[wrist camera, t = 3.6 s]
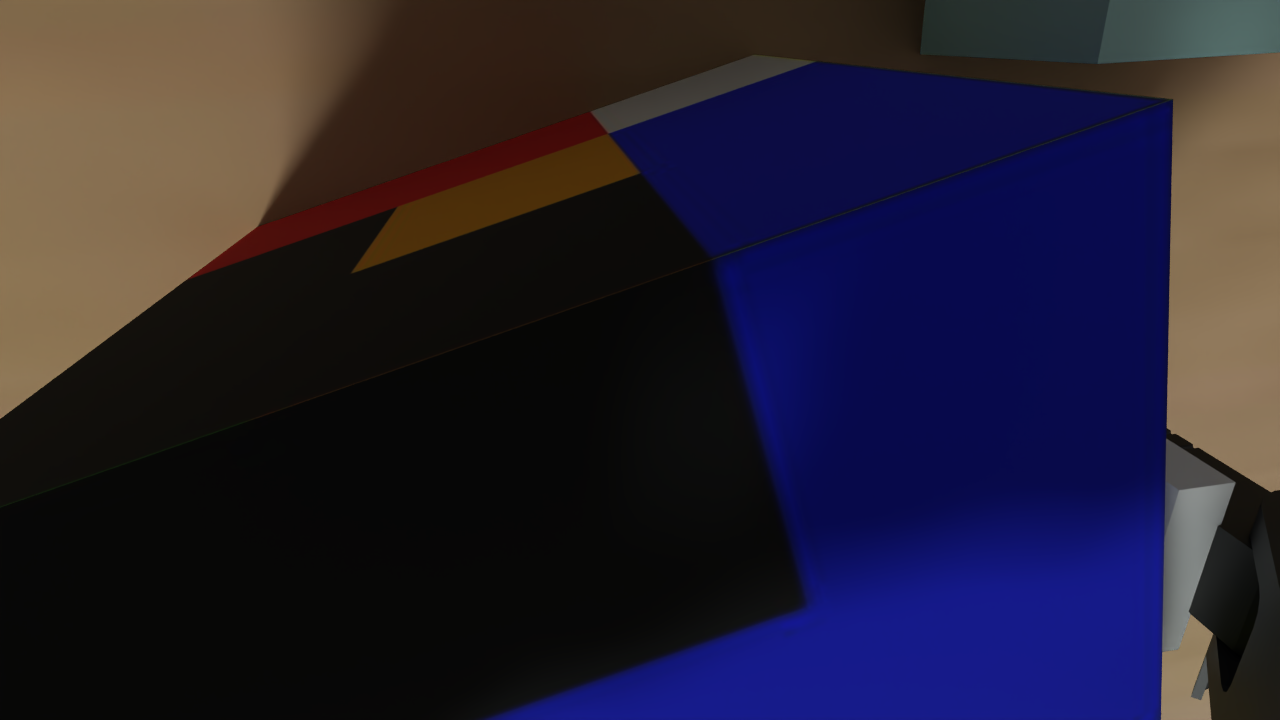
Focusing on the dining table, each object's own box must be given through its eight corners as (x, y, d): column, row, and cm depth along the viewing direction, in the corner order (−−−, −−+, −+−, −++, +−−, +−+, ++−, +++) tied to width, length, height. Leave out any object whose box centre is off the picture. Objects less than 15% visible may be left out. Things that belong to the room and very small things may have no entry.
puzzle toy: (753, 53, 14) (1173, 99, 5) (844, 466, 18) (1157, 889, 9) (258, 225, 14) (-221, 585, 5) (467, 598, 18) (413, 1151, 9)
